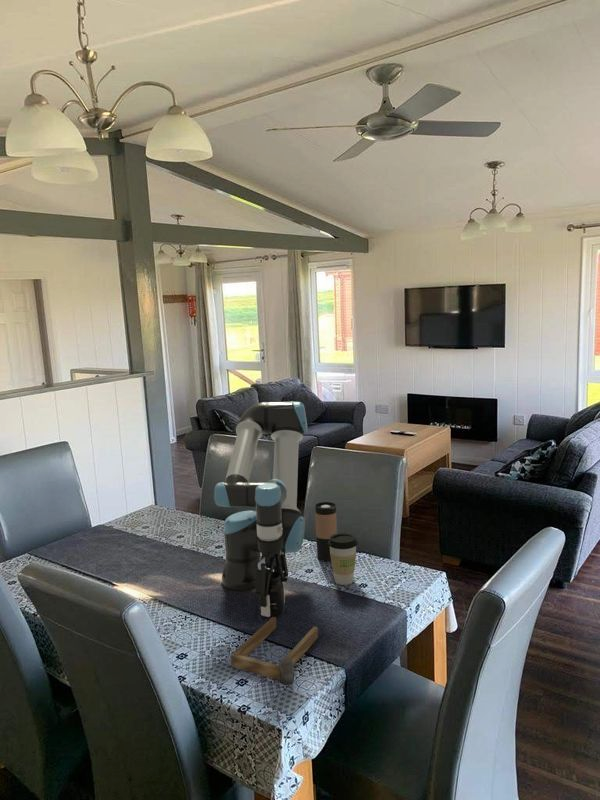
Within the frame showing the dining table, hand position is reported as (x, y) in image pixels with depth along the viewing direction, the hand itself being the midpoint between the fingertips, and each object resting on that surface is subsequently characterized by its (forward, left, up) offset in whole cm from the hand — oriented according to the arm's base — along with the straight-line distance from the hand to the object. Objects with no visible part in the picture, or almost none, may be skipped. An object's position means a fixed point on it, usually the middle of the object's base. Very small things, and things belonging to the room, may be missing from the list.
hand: (273, 608), depth 176 cm
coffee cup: (+11, +28, -2) cm, 30 cm away
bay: (+13, -18, -1) cm, 22 cm away
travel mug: (-2, +43, -2) cm, 43 cm away
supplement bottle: (0, 0, -2) cm, 2 cm away
